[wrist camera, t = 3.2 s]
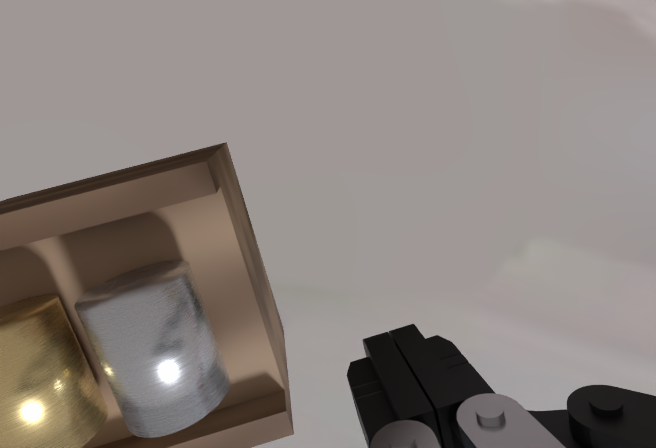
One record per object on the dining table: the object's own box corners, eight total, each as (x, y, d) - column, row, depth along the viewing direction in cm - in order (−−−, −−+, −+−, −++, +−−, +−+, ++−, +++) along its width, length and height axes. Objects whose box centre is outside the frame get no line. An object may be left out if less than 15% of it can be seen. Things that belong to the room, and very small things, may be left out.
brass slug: (-83, 342, 16) (-66, 367, 13) (39, 289, 19) (74, 301, 16) (-19, 455, 17) (8, 499, 14) (86, 390, 20) (125, 417, 17)
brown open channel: (-88, 223, 24) (-304, 294, 15) (226, 142, 25) (206, 161, 16) (9, 410, 27) (-119, 562, 18) (283, 329, 28) (293, 434, 19)
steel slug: (87, 283, 18) (60, 325, 14) (189, 251, 19) (190, 282, 15) (132, 390, 19) (119, 454, 15) (226, 355, 20) (235, 408, 16)
